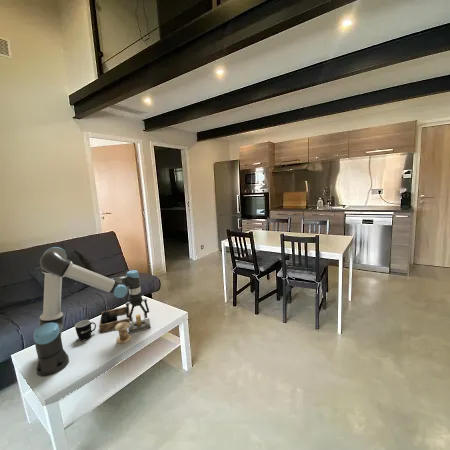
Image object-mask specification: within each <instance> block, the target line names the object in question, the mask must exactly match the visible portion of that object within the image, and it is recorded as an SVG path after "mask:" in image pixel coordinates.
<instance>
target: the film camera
mask: <svg viewBox="0 0 450 450" xmlns="http://www.w3.org/2000/svg"><path fill="white" fill-rule="evenodd" d="M104 311H105V312H104ZM104 311H103V312H104V313H102V312H101V315H102V316H101V315H100V320H101V323H102V324H105V323H110V322H114V321H118V315H117V314H111V315H110V313H109V312H106V311H107V310H104Z"/></svg>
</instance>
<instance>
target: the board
mask: <svg viewBox="0 0 450 450" xmlns="http://www.w3.org/2000/svg"><path fill="white" fill-rule="evenodd" d="M141 323H142V325H140V326H137V322H136V321H133V324H134V326H132V322H130V326H129V327H128V334H131V333H135V332H139V331H144V330H147V329H151V328H152V327H151V320H150V317H149V318H148V317H147V318H146V323H145V319H141Z"/></svg>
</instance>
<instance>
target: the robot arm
mask: <svg viewBox="0 0 450 450" xmlns="http://www.w3.org/2000/svg"><path fill="white" fill-rule="evenodd" d="M39 265H40V267H41V273H42V274H44V283H43V284H44V287H43V288H44V289H43V307H42V309H43V311H42V313H41V315H40V316H39V321H38V322H39V323H38V324H39V325H38V327H36V329H35V330H34V332H33V337H32V338H33V342H34V345H35V351H36V355H37V363H36V368H35V370H36V375H38V376H40V377H48V376H51V375H53V374H56V373H58V372H60V371H62V370H63V369H64V368H66V366H67V365H68V364H69V362H70V358H69V355H68V353H67V352H66V351H65V349H64V347H63V342H62V333H63V327H64V312H62V311H61V307H62V287H63V285H62V284H63V278H65V277H66V278H69V279H72V280H73V281H77V282H80V283H83V284H86V285H87V286H90V287H94V288H96V289H98V290H101V291H104V292H107V293H109V294H112V295H114V297H116V298H118V299H121V298H124V297H126V295H127V294H128V293H129V301H127V302H125V307H127V313H126V315H125V316H126V318H127V317H129V318H130V323H131V322H132V326H134V324H133V322H134V318H133V312H134V309H135V307H140V308H141V310H142V311H143V317H144V319H145V323H146V319H148V313H150V308H149V306H148V303H147V301H148V299H147V298H143V297H142V292H141V291H142V289H141V288H142V287H141V280H140V274H139V271H138V270H136V269H133V270H129V271H126V275H122V276H121V275H120V276H117V277H112V278H109V277H107V276H104V275H103V274H100V273H98V272H95V271H92V270H89V269H87V268H84V267H82V266H80V265H78V264H74V263H73V261H72V260H70V259H68V254H67V251H66V250H65V249H64V248H61V247H58V246H53V247H50V248H48V249H46V250H45V251H44V252H43V254H42V256H41V257H40V258H39ZM127 287H128V288H127ZM142 303H144V305H145V307H144V305H143V304H142ZM130 305H131V308H130ZM145 308H146V309H145ZM129 311H130V315H128V312H129ZM144 319H143V320H144Z"/></svg>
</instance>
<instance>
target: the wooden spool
mask: <svg viewBox="0 0 450 450" xmlns="http://www.w3.org/2000/svg"><path fill="white" fill-rule="evenodd" d="M130 323H131V322H130ZM130 323H129V322H121V323H119V324H117V325H116V326H115V329H114V330H115V331H117V332H118V337H117V338H116V344H120V345H122V344H126V343H129V342H130V341H131V339H132V335H131V333H129V332H128V329H129V326H130Z"/></svg>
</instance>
